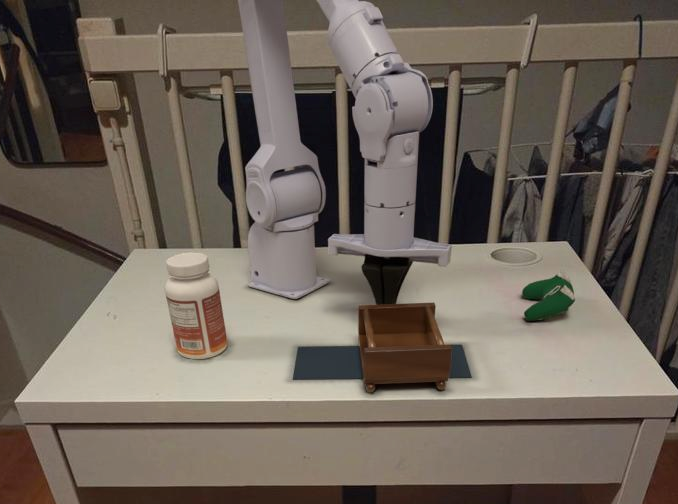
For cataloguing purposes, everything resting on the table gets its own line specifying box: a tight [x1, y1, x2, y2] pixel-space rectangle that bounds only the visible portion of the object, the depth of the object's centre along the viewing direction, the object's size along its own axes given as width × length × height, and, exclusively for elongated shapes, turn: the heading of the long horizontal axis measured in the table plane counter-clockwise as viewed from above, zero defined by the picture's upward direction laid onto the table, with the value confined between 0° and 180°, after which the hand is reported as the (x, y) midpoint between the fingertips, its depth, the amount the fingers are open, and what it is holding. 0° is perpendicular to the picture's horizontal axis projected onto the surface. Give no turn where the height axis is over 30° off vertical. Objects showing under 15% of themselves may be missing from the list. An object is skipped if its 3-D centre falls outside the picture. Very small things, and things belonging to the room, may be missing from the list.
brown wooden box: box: [357, 302, 452, 393], centre depth 70 cm, size 12×9×5 cm
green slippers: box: [521, 269, 576, 322], centre depth 81 cm, size 9×4×6 cm
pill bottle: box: [164, 251, 228, 360], centre depth 73 cm, size 6×6×11 cm
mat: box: [292, 343, 473, 381], centre depth 72 cm, size 20×8×1 cm, turn 88°
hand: (386, 316), depth 78 cm, fingers closed
